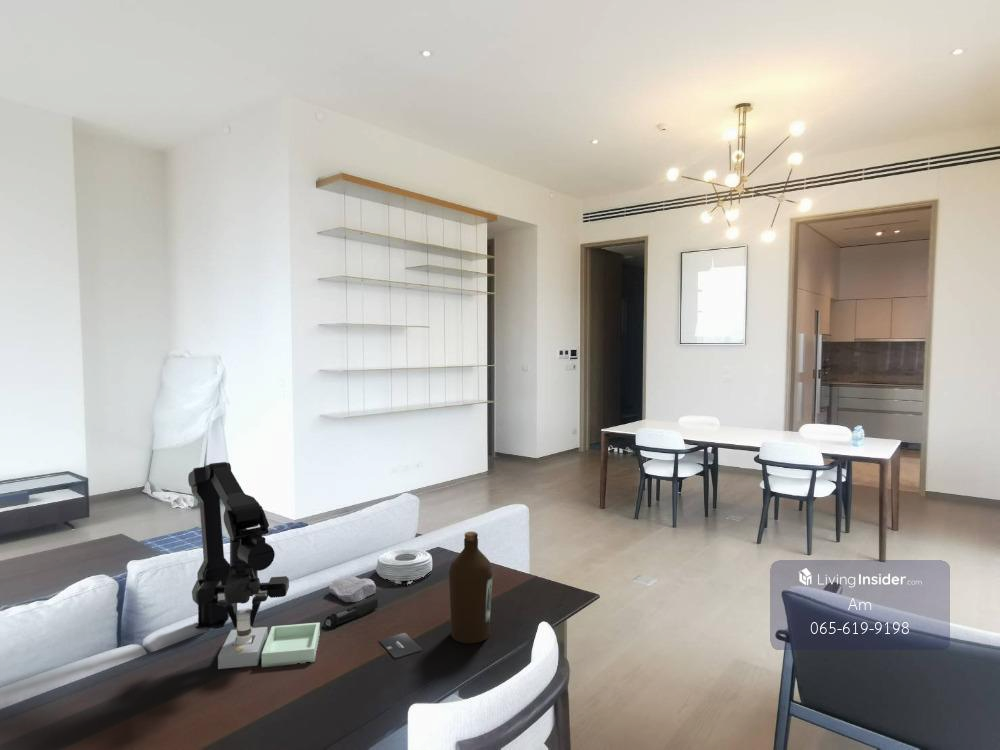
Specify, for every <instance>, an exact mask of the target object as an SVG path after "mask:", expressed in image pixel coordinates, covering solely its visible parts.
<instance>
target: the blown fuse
mask: <svg viewBox="0 0 1000 750" xmlns="http://www.w3.org/2000/svg"><path fill="white" fill-rule="evenodd" d="M251 612H252V608H240V609H237V612H236V620H237V628H236V629H237V640H236V645H246V644H252V637H251V627H252V626H251Z"/></svg>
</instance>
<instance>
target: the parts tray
mask: <svg viewBox="0 0 1000 750" xmlns="http://www.w3.org/2000/svg"><path fill="white" fill-rule="evenodd" d="M320 634H321V622H310V623H309V622H308V623H296V624H286V625H285V624H284V625H274V626H271V628H270V631H269V634H268V638H267V641H266V643H265V646H264V649H263V651H262V655H261V668H267V667H268V668H269V667H278V666H279V667H281V666H285V665H286V666H288V665H298V664H297V663H300V664H307V663H306V662H311V663H315V661H316V656H317V652H318V651H317V650H318V645H319V642H320V641H319V640H320V637H319V636H321V635H320ZM318 641H319V642H318ZM316 651H317V652H316Z"/></svg>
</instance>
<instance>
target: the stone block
mask: <svg viewBox="0 0 1000 750" xmlns="http://www.w3.org/2000/svg"><path fill="white" fill-rule="evenodd" d="M376 589H377V586H376V584H375V581H373V580H372V579H370V578H365V577H364V578H359V577H356V576H355V575H354V574H350V575H349V576H345V577H341V578H338V579H335V580H334V581H333V582H331V583H330V584H329V586H328V591H329V592H330V593H331V595H335V596H334V597H336V596H337V597H338V598H339V599H338V598H337V597H336V598H337V599H338V600H340V599H341V600H340V601H342V600H343V601H349V602H356V601H360V600H362V599H364V598H366V597H367V596H369V595H372V594H374V593H375V594H376ZM375 594H374V595H375ZM372 596H373V595H372ZM366 599H367V598H366ZM364 600H365V599H364ZM343 601H342V602H343ZM360 602H361V601H360Z"/></svg>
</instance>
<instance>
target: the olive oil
mask: <svg viewBox="0 0 1000 750" xmlns="http://www.w3.org/2000/svg"><path fill="white" fill-rule="evenodd" d="M478 534H479V533H478V532H476V531H467V532H465V533H464V540H463V543H464V544H463V545H464V546H463V549H462V550H461V552H460V553H459V554H458V555H456V556H455V557H454V559H453V560H452V562H451V564H450V568H449V571H448V580H449V603H450V605H449V606H450V635H451V637H452V639H453V640H454V641H456V642H458V643H462V644H478V643H481V642H483V641H486V640H487V639H488V638H489V637H490V631H491V630H490V628H491V627H490V626H491V609H492V605H491V604H492V591H493V590H492V589H493V572H494V571H493V567H492V564H491V562H490V560H489V559H488V558H487V557H486V555H485V554H483V553H482V551H481V550H480V549H479V539H478V537H479V535H478Z"/></svg>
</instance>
